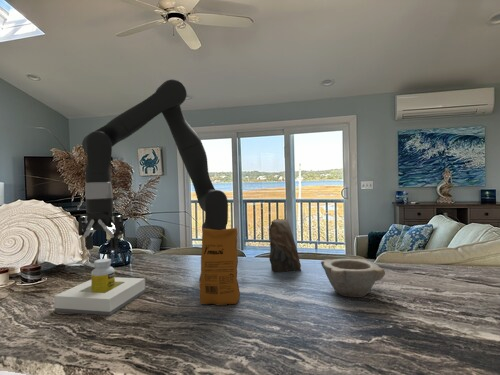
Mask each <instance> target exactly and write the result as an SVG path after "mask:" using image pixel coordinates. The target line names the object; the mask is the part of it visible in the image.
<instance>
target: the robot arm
mask: <svg viewBox="0 0 500 375" xmlns="http://www.w3.org/2000/svg"><path fill="white" fill-rule="evenodd" d="M187 94H188V93H187V88H186V86H185V85H184V83H183V82H182V81H180V80H179V79H178V80H177V79H167V80H165V81H164V82H163V83H161V85H159V86H158V87H157V88H156V90H155V92H154V93H152V94H151V95H150V96H148V97H147V98H146V99H144V100H143V101H141V102H139V103H137V104H135V105H133V106H132V107H130V108H129V109H127V110H125V111H123V112H121V113H120V114H119V115H117V116H116V117H114V118H112V119H111V120H110V121H108V122H107V123H106V124H105V125H103V126H102V127H100V128H98V129H96V130H94V131H92V132H89V133H88V134H87V135H86V136H85V137H84V138H83V140H82V143H81V147H82V149H83V151H84V152H85V154H86V160H87V161H86V162H87V163H86V165H85V169H84V173H85V174H84V176H85V188H84V191H85V192H84V193H85V211H86V214H87V215H81V216H79V217H78V218H77V220H78V221H77V224H78V225H77V226H78V232H77V234H78V236H80V237H83V238H84V245H85V246H84V247H85V248H86V250H87V251H90V250H92V249H93V250H94V237H93V235H94V233H95V232H96V231H98V230H99V231H104V232H106V233H108V235H109V237H110V239H109V240H110V250H112V251H115V250H117V249H118V248H119V236H121V235H124V234H125V229H124V220H123V219H124V218H123V215H121V214H120V215H119V214H118V215H113V212H114V197H113V187H112V186H113V185H112V175H111V174H112V173H111V163H112V153H113V147H114V146H115V145H116V144H118V143H120V142H122V141H124V140H126V139H127V138H129V137H130V136H132V135H133V134H135V133H136V132H137V131H139V130H140V129H142V128H143V127H144V126H146V124H148V123H149V122H150V121H152V120H153V119H154V118H156V117H157V116H158V115H160V114H162V115H163V117H164V120H165V121H166V124H167V126H168V127H169V131H170V133H171V136H172V138H173V140H174V142H175V145H176V147H177V148H176V149H177V150H178V151H177V152H178V153H179V155H180V158H181V160H182V162H183V165H184V167H185V170H186V171H187V174H188V176H189V178H190V181H191V183H192V185H193V189H194V191H195V195H196V198H197V202H198V205H199V207H200V209H201V210H202V211H203V212H204V214H205V215H204V222H203V224H202V226H201V233H202V235H203V229H204V228H205V229H212V230H224V229H227V225H228V222H229V203H228V197H227V195H226V193H225V192H224V191H222V190H220V189H216V188H215V187H214V184H213V182H212V180H211V177H210V174H209V166H208V157H207V156H208V155H207V152H206V150H205V147H204V145H203V143H202V140H201V138H200V136H199V135H198V133H197V132H196V130H194V129H193V127H192V126H191V125H190V124H189V123H188V121H187V120H186V117H185V116H184V113H183V110H182V107H181V105H182V104H183V103H184V102H185V101H186V99H187ZM202 235H201V236H202Z"/></svg>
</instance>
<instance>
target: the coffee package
mask: <svg viewBox="0 0 500 375" xmlns="http://www.w3.org/2000/svg"><path fill="white" fill-rule="evenodd" d="M237 243H238V228H237V227H234V228H233V227H232V228H226V229H224V230H212V229H205V228H204V229H203V235H201V256H200V274H199V275H200V276H199V301H200V304H201V305H202V304H206V305H211V304H213V305H216V306H227V304H229V305H234V304H235V305H236V304H237V303H239V299H240V298H241V291H240V286H239V281H238V264H239V258H238V257H239V256H238V255H239V254H238V245H237Z"/></svg>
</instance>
